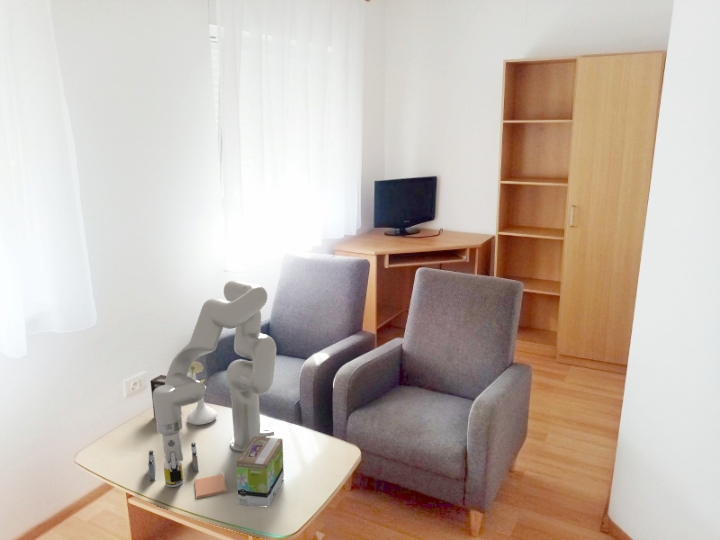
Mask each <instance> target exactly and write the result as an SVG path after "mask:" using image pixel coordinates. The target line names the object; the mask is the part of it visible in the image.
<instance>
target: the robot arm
mask: <svg viewBox="0 0 720 540" xmlns="http://www.w3.org/2000/svg"><path fill="white" fill-rule="evenodd" d="M223 296H224V298H225V300H224V299H220V298H210V299H207V300H205V302H204V303H203V305H202V306H201V310H200V312H199V315H198V318H197V321H196V324H195V325H194V326H195V327H194V329H193V332H192V335H191V337H190V340H189V342H188V343H187V344H186V345H185V346H184V347H183V348H182V349H181V350H180V351H179V352H178V353H177V354H176V355H175V357H174V358H173V360H172V361H171V364H170V366H169V367H168V371H167V374H166V375H165V376H166V380H165V385H162V386H159V387H157V388H156V389H155V390H154V391H153V401H152V403H153V402H154V409H155V417H156V418H155V422H156V423H155V424H156V430H157V433H158V434H159V435H161V436H162V444H163V450H164V451H163V452H164V457H165V456H166V461H167V463H168V464H169V465H170V479H171V482H177V481H181V480H182V478H181V470H180V468H179V461H181V462H183V461H184V453H183V451H184V450H183V444H182V443H183V442H182V435H181V430H182V429H183V427H184V426H183V419H182V418H183V417H182V415H181V410H182V407H184V406H185V407H186V406H189V405H193V404H196V403H198V401H200V400H201V399H202V398H204V396H206V392H207V387H206V388H205V386H206V385H205V384H204V382H203V383H202V382H200V381H201V380H199V379H196V378H194V377H193V378H192V376H189V375H188V373H189V372H188V371H189V368H190V366H191V365H192V363H193V362H194V361H196V360H197V359H199V358H200V357H202V356H204V355H207V354H210V353H211V354H212V353H213V352H214V351H216V349H217V346H218V343H219V341H220V338H221V335H222V332H223V329H228V330H231V329H235V330H234V332H235V334H234V340H233V342H234V343H233V350H234V352H235V354H237V355H238V356H240V357H243V358H245V359H236V360H233V361H231V363H230V364H229V365H228V367H227V370H226V381H227V385H228V389H229V393H230V400H231V402H230V403H231V412H232V413H231V414H232V415H231V416H232V429H233V436H232V438H231V439H230V441H229V446H230V448H231V449H232V450H233V451H236V452H240V453H242V452H243V451H244V450H245V448H246V447H247V445H248V444H249V443H250V441H251V440H252V438H253V437H254V436H257V437H273V436H275V430H273V429H272V430H270V428H264V429H263V428H261V418H260V417H261V416H260V415H261V414H260V400H259V399H260V398H259V397H260V396H259V395H264V394H266V393H267V392H268V391H269V390H270V388H271V387H272V385H273V381H274V376H275V368H276V359H277V344H276V342H275V340H274V338H273V337H271V336H270V335H269V334H266V333H265V334H264V333H262V331H261V329H262V313H261V310H262V309H263V308H264V306H265V305H266V304H267V300H268V292H267V290H266V289H265V288H264V287H263V286H261V285H259V284H255V283H250V282H247V281H241V280H230V281H228V282H227V283H225V284H224V287H223ZM246 359H248V360H246ZM249 360H252V361H249ZM180 407H181V408H180ZM176 458H177V460H175V459H176ZM170 460H171V461H170ZM176 463H177V465H176ZM171 464H172V466H171Z"/></svg>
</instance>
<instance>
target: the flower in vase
mask: <svg viewBox="0 0 720 540" xmlns="http://www.w3.org/2000/svg"><path fill="white" fill-rule="evenodd" d="M204 368H205V367H204V365H202V362H199V361H196V360H195V361H194V362H193V363H192V365H191V366H190V368H189V371H188V373H191V378H194V376H193V375H194V374H199V373H200V372H201V373H202V372H203V371H204ZM199 381H200V382H202V383H203V384H204V383H205V381H206V379H205V378H204V379H201V380H199ZM204 386H205V388H206V389H207V386H206V385H204ZM217 416H218V413H217V411H216V410H215V409H214V408H212V407H209V406H208V405H207V404H205V401H204V397H203V398H202V399H201V400H200V401H198V402H197V406H196V407H195V408H194V409H192V410H191V411H190V412H189V413H188V414H187V416H186V421H187V422H188V423H189V424H192V425H196V426H199V425H201V426H202V425H205V424H208V423H211V422H213V421H215V420H216V418H217Z"/></svg>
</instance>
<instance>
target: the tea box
mask: <svg viewBox="0 0 720 540" xmlns="http://www.w3.org/2000/svg"><path fill="white" fill-rule="evenodd" d="M283 443H284V442H283V438H278V437H269V436H267V437H257V436H254V437H253V438H252V440H251V441H250V443H249V444H248V445H247V447H246V448H245V450H244V451H243V452H241V454H240V455H239V456H238V458H237V460H236V462H235V463H236V464H235V465H236V468H235V469H236V482H237V483H236V485H237V487H236V488H237V489H236V490H237V504H238V505H242V506H243V505H244V506H249V505H252V506H251V507H258V506H267V507H266V508H269V506H270V505H271V503H272V501H273V500H274V497H275V496H274V495H276V494H277V492H278V490H279V489H280V486H281V485H280V484H282V483H281V482H283V481H284V479H283V478H284V477H285V472H284V449H283V447H284V446H283V445H284V444H283ZM282 480H283V481H282Z"/></svg>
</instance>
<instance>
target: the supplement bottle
mask: <svg viewBox="0 0 720 540" xmlns="http://www.w3.org/2000/svg"><path fill="white" fill-rule="evenodd" d="M164 460H165V461H164V462H163V470H164V471H163V472H164V481H165V485H166V486H167V487H170V488H174V487H177V486H180V485H181V484H182V483H183V482H184V472H183V463H182V461H179V468H180V470H181V478H182V480H181V481H177V482H171V479H170V465H169V464H168V463H167V461H166V456H165V455H164ZM175 460H177V458H176V459H175ZM170 461H171V460H170ZM176 465H177V463H176ZM171 466H172V464H171Z"/></svg>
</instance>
